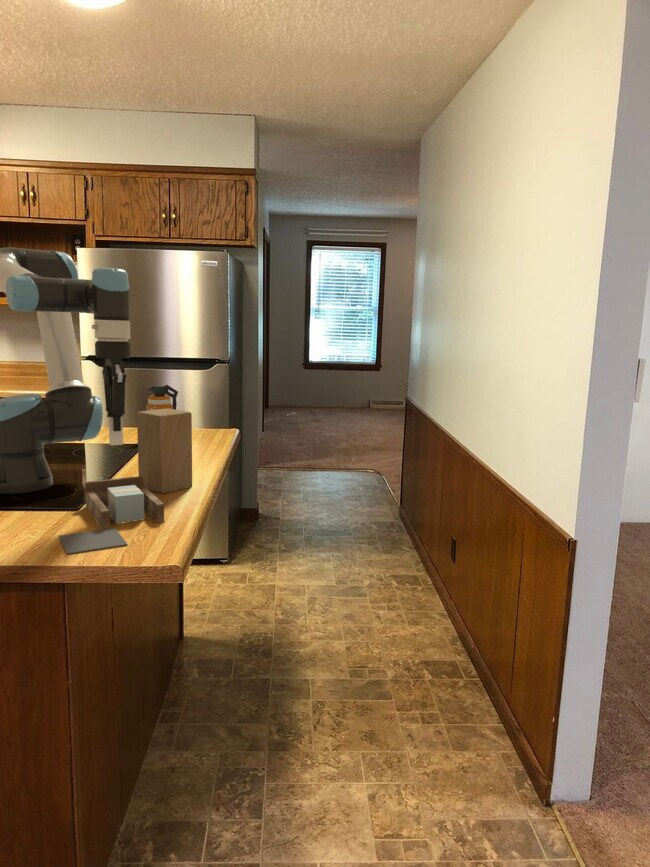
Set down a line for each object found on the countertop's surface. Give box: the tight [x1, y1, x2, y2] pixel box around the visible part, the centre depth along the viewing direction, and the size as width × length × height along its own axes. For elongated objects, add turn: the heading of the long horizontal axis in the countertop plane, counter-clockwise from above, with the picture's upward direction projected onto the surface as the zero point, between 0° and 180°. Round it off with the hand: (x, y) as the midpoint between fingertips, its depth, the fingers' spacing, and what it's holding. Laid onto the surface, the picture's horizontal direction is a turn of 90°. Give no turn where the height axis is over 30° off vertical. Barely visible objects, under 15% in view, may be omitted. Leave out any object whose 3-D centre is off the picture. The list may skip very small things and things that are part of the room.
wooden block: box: [136, 408, 193, 495], centre depth 165 cm, size 10×10×20 cm
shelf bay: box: [84, 475, 165, 530], centre depth 142 cm, size 18×13×6 cm
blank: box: [107, 485, 145, 525], centre depth 141 cm, size 8×6×6 cm
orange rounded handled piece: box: [146, 384, 179, 411], centre depth 229 cm, size 9×11×20 cm
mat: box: [58, 527, 128, 555], centre depth 125 cm, size 11×11×1 cm
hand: (116, 444), depth 145 cm, fingers closed
